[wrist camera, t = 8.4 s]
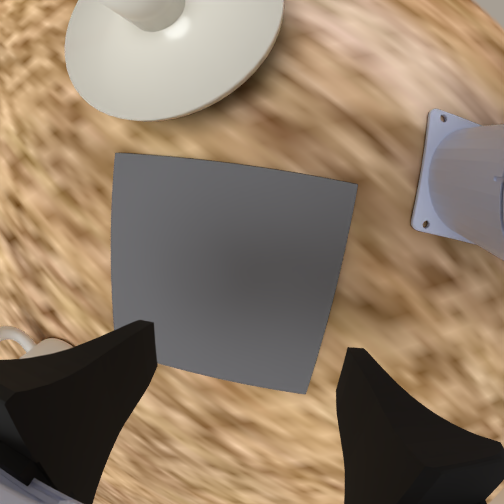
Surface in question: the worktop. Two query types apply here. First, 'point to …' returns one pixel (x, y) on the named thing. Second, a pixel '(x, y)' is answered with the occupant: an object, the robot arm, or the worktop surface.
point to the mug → (29, 345)
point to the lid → (166, 53)
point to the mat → (228, 264)
